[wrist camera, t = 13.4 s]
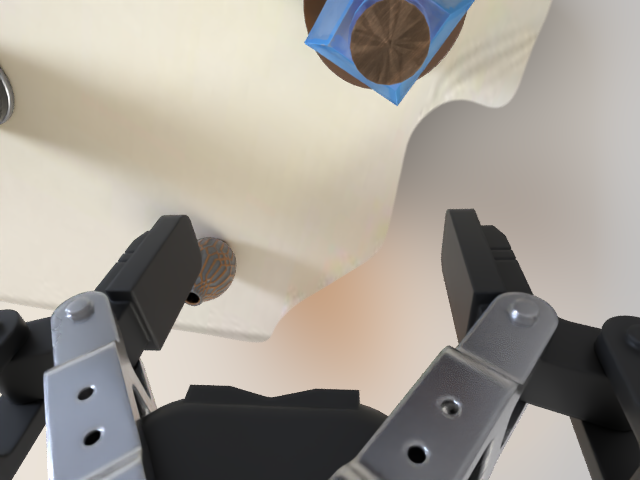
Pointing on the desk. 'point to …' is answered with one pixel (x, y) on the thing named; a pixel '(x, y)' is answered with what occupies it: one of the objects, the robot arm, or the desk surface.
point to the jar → (312, 9)
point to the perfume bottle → (385, 39)
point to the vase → (213, 271)
